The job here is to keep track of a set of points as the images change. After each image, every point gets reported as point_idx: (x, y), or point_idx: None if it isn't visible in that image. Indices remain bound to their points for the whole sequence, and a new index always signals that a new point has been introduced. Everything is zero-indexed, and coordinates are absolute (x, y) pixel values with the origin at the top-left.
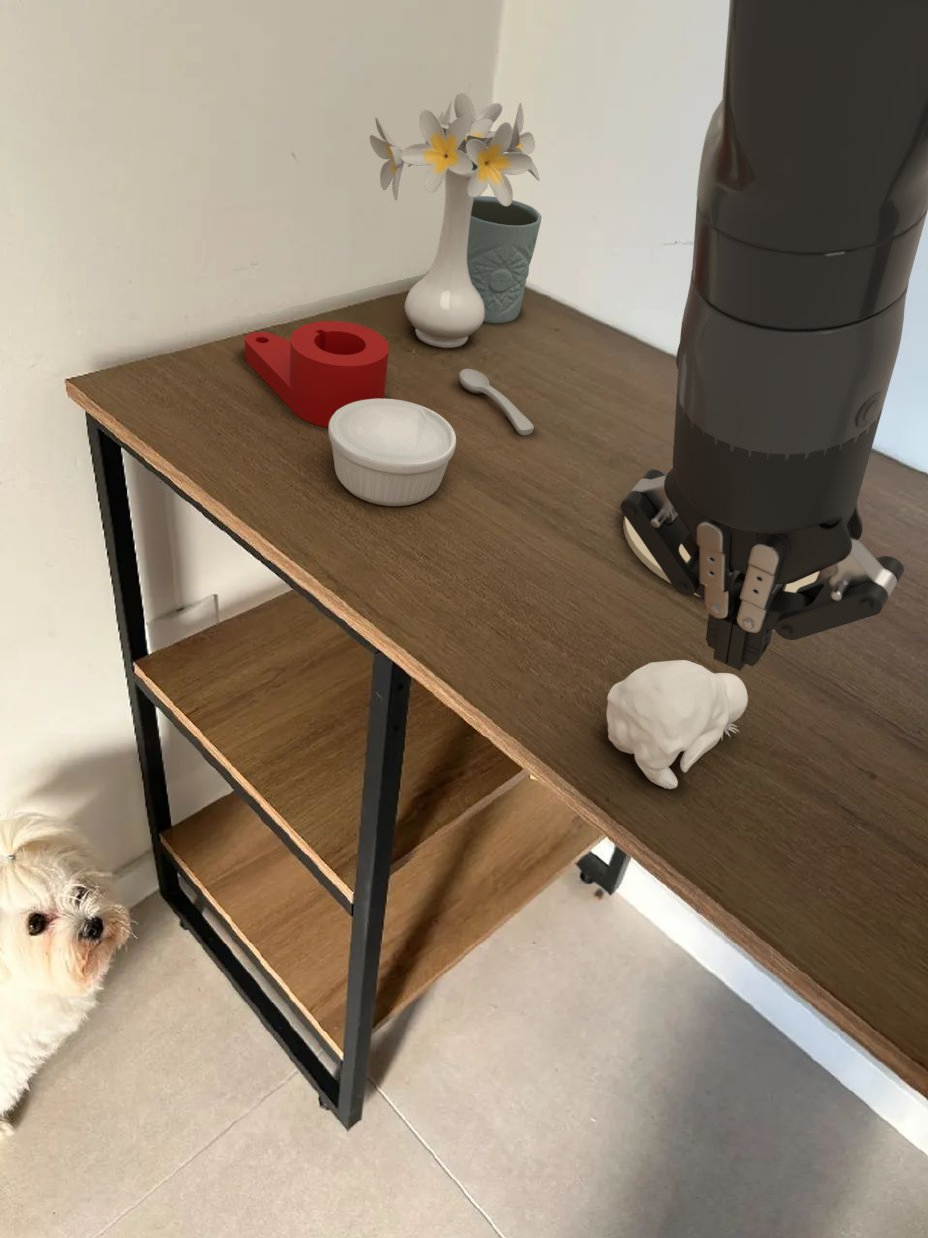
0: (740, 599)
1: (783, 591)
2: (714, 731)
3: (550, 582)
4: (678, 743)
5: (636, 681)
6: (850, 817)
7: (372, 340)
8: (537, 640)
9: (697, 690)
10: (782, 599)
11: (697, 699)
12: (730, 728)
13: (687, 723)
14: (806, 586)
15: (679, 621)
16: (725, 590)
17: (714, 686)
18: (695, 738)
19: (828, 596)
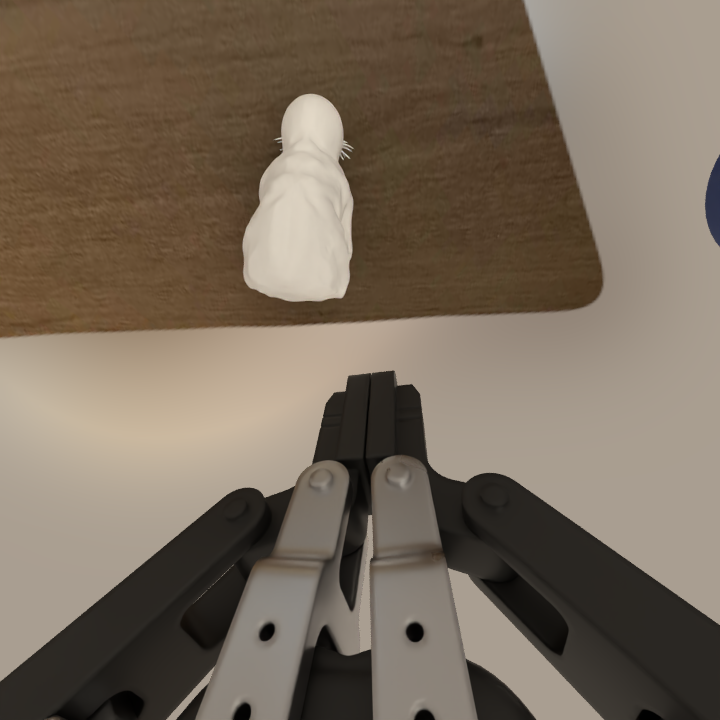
0: (362, 508)
1: (440, 529)
2: (346, 208)
3: (51, 112)
4: (342, 291)
5: (262, 287)
6: (485, 126)
7: None
8: (130, 210)
9: (316, 245)
10: (452, 548)
11: (324, 252)
12: (342, 145)
13: (336, 278)
14: (492, 539)
15: (183, 11)
16: (358, 641)
17: (319, 202)
18: (348, 265)
19: (618, 714)
